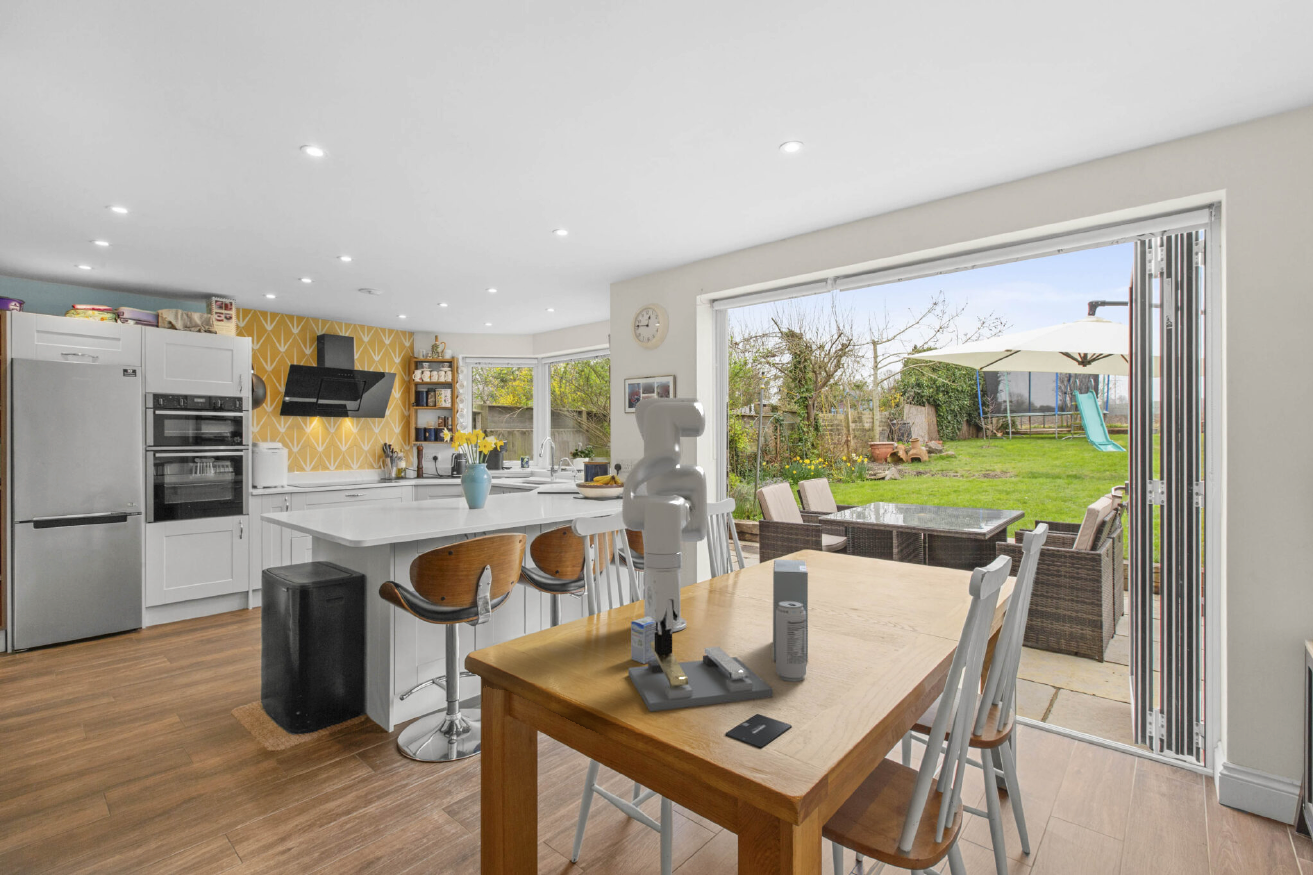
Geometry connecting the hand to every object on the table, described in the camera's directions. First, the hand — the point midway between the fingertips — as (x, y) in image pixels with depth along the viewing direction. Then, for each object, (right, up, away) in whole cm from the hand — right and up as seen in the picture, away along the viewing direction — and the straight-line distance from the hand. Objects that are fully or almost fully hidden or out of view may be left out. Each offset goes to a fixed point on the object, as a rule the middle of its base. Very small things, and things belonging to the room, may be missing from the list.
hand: (663, 652), depth 123 cm
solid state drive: (+16, -7, -20) cm, 26 cm away
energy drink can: (+26, -6, +3) cm, 27 cm away
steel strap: (+12, -3, +1) cm, 13 cm away
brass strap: (+1, -2, -2) cm, 3 cm away
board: (+7, -6, -1) cm, 9 cm away
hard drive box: (+29, -7, +19) cm, 35 cm away
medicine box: (-3, -7, +15) cm, 17 cm away
